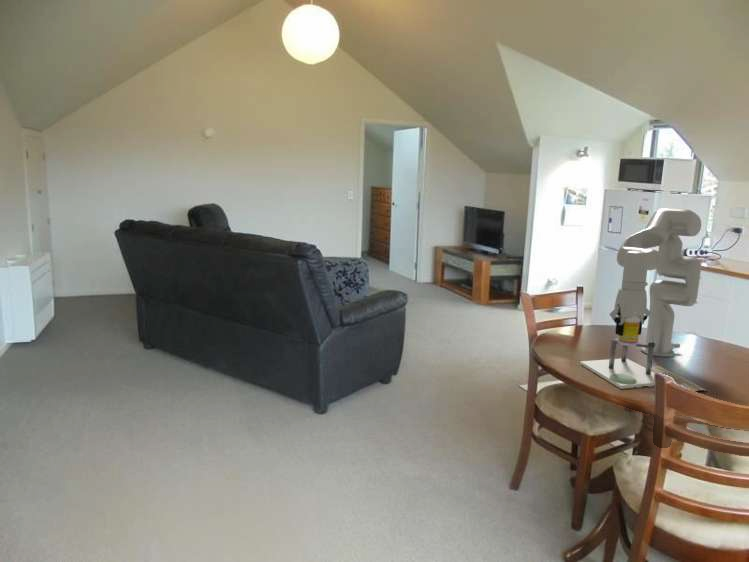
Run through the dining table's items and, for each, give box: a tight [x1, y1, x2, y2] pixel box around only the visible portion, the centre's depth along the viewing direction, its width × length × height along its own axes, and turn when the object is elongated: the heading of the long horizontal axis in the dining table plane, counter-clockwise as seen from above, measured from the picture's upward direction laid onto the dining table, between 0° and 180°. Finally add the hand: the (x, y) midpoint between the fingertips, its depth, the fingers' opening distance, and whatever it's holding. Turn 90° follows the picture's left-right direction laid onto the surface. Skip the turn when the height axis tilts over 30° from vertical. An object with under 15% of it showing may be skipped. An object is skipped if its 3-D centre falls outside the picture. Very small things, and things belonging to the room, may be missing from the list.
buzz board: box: [579, 358, 655, 390], centre depth 201 cm, size 21×25×2 cm
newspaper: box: [651, 365, 708, 392], centre depth 196 cm, size 24×7×2 cm, turn 10°
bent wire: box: [609, 337, 655, 375], centre depth 203 cm, size 12×16×13 cm
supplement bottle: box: [617, 311, 640, 347], centre depth 188 cm, size 7×7×13 cm
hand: (628, 333), depth 189 cm, fingers closed on supplement bottle, 6 cm apart
